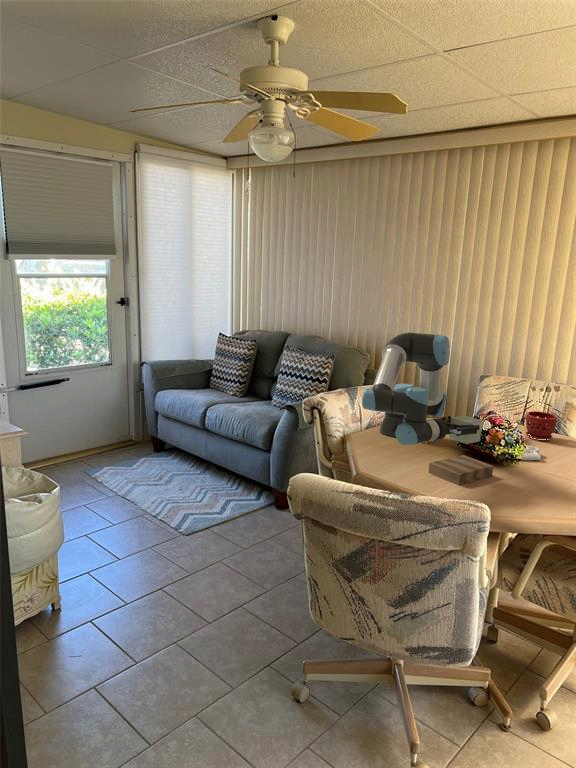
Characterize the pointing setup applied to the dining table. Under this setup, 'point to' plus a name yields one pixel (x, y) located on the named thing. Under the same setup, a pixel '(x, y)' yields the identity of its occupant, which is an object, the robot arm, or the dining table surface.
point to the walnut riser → (460, 469)
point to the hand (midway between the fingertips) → (472, 422)
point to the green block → (465, 421)
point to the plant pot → (540, 424)
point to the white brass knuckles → (531, 453)
